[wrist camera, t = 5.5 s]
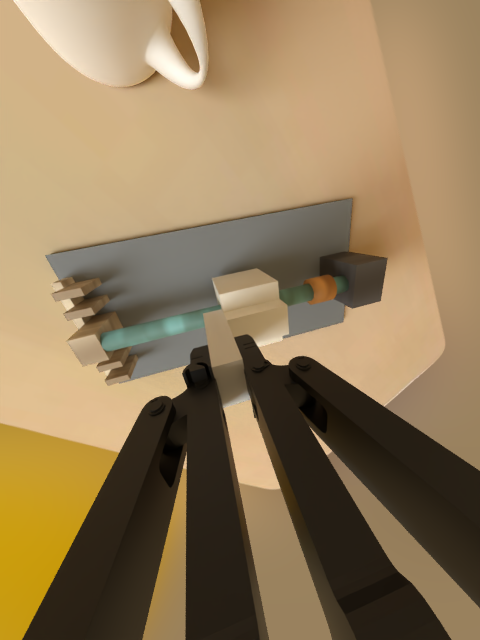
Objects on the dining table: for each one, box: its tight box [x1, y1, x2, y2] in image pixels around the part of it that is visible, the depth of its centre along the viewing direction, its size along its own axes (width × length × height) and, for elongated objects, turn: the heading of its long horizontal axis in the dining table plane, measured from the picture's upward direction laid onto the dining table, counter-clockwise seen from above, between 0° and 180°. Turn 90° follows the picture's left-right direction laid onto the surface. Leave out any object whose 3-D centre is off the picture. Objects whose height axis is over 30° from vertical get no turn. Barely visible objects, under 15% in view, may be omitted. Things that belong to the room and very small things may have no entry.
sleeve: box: [212, 268, 289, 347], centre depth 17 cm, size 5×4×7 cm
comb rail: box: [51, 251, 387, 385], centre depth 19 cm, size 10×27×6 cm, turn 100°
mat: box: [45, 198, 353, 384], centre depth 22 cm, size 14×28×1 cm, turn 100°
